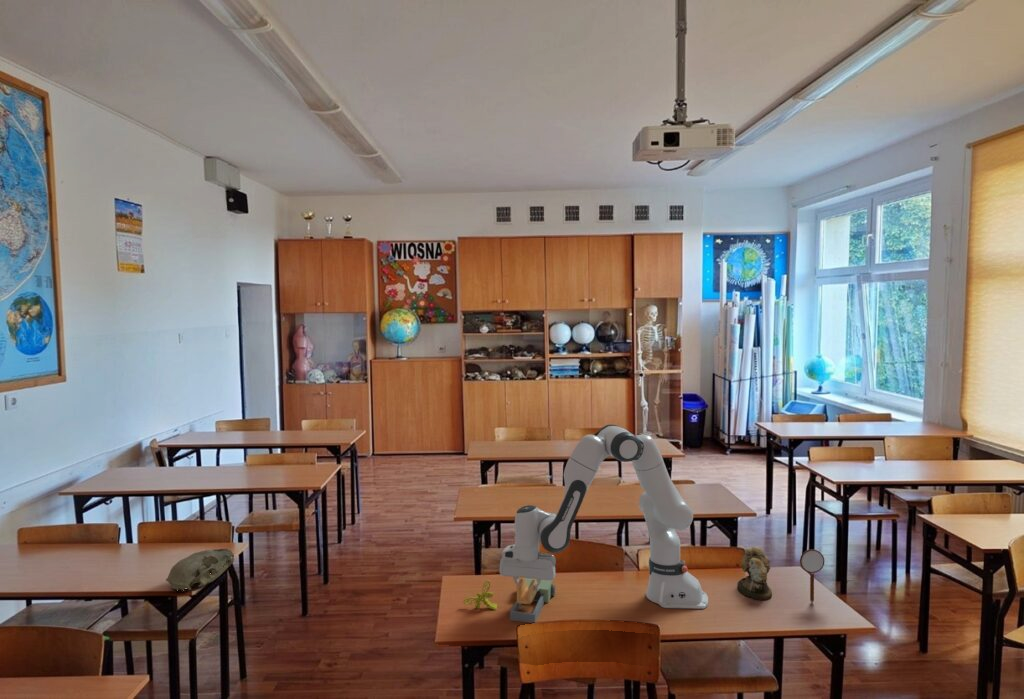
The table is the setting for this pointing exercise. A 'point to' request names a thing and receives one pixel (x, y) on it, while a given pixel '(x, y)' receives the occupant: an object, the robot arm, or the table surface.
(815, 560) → the magnifying glass
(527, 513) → the robot arm
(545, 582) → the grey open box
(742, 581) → the stone bust
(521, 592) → the chute
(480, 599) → the decorative insect
